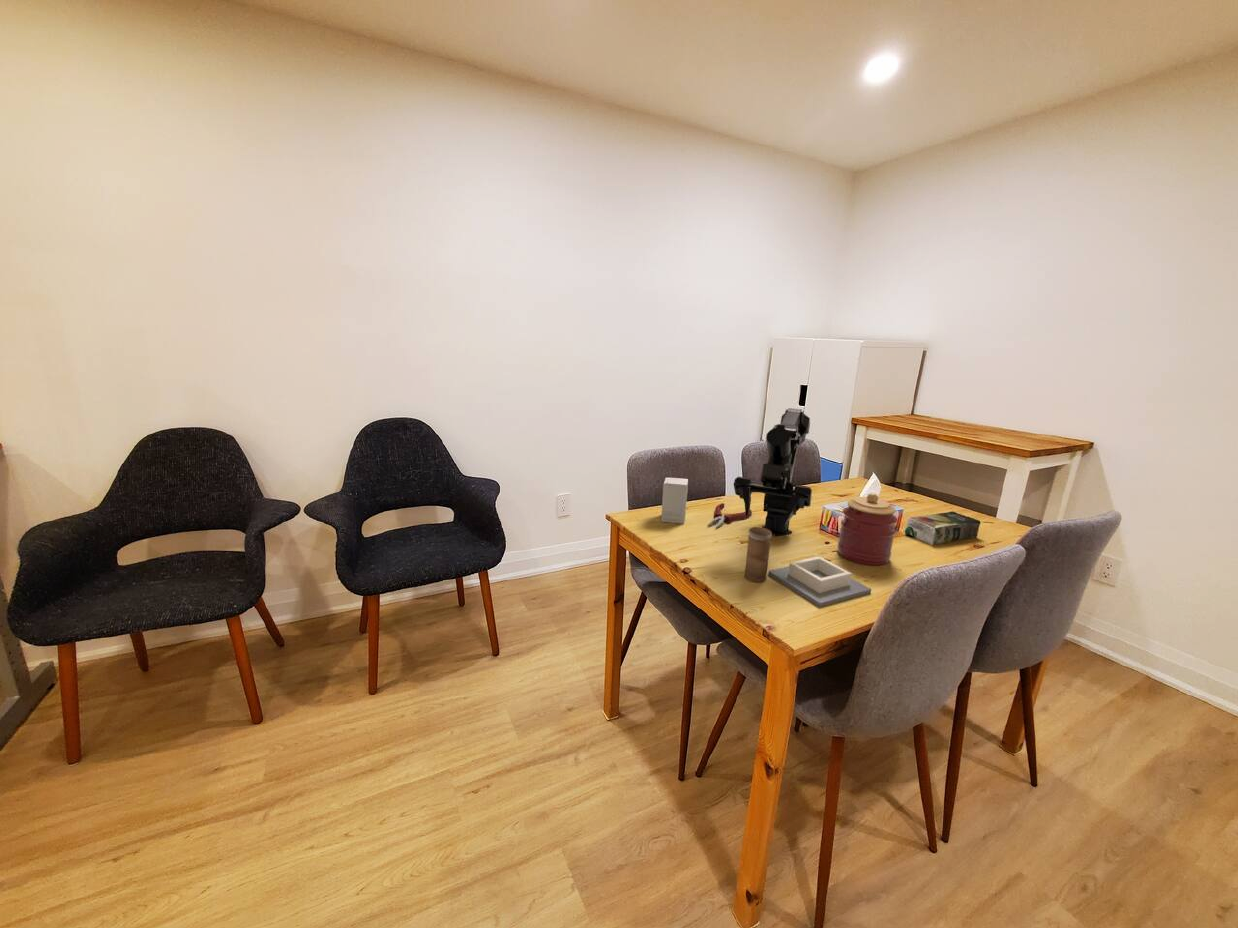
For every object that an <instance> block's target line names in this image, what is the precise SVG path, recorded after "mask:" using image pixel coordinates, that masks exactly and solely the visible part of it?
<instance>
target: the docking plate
mask: <svg viewBox="0 0 1238 928" xmlns="http://www.w3.org/2000/svg"><path fill="white" fill-rule="evenodd" d="M767 575H768V576H770V577H772V578H773V579H774V580H776V581H778V582H779V583H781V584H782V585H784V586H785V587H787V588H789V589H790V590H792V591H793V592H795V593H796V594H798V595H800V596H802V597H803V598H804V599H806V600H807V601H809V602H811V603H812V604H814V605H815V606H816V607H819V608H821V607H825V606H829V605H833V604H835V603H840V602H843V601H846V600H847V601H848V600H849V599H850V598H851V599H854V598H857V597H858V598H859V597H861V596H865V595H867V594H868V595H869V594H871V592H872V588H871V587H868V586H867V585H865V584H862V583H861V582H859V581H857V580H855V579H853V578H852V572H850V571H848V570H846V569H845V568H842V567H841V566H838V565H836V564H834V563H833V562H831V561H828V560H827V559H825V558H823V557H821V556H814V557H810V558H804V559H802V560H801V559H800V560H797V561H793V562H789V564H788V566H784V567H780V568H776V569H775V568H774V569H771V570H768V571H767Z"/></svg>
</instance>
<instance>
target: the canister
mask: <svg viewBox="0 0 1238 928" xmlns="http://www.w3.org/2000/svg"><path fill="white" fill-rule="evenodd" d="M847 505H848V506H846V507H844V508H843V509H842V513H843V515H844V517H843V519H841V522H840V531H839V532H840V533H839V539H838V541H837V552H838V554H839V555H840V556H842V558H845V559H847V560H849V561H851V562H854V563H859V564H862V565H867V566H883V565H887V564H888V563H889V562H890V558H891V557H892V556H891V555H892V547H893V543H894V536H895V534H896V529H895V524H896V523H897V522H898V520H899V519H898V517H897V516H896V515H895V512H896V507H894V506H893V505H891V504H890V503H889V502H888V501H887V500H883V499H882V498H881V499H880V498H879V495H878V494H876V493H875V492H870V493H868V494H867V496H858V497H857V496H856V497H854V498H853V499H850V500H848V501H847Z"/></svg>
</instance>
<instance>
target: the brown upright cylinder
mask: <svg viewBox="0 0 1238 928" xmlns="http://www.w3.org/2000/svg"><path fill="white" fill-rule="evenodd" d="M762 527H763V526H753V527H750V528H749V529H748V540H747V549H746V550H747V551H746V559H745V569H744V578H745V579H746V580H747V581H749V582H753V583H764V582H766V580H767V575H768V568H769V567H768V565H769V564H768V563H769V558H770V557H769V556H770V549H771V539H772V535H773V534H772V532H771V531H770V530H768V529H766V528H762Z"/></svg>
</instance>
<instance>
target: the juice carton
mask: <svg viewBox="0 0 1238 928" xmlns="http://www.w3.org/2000/svg"><path fill="white" fill-rule="evenodd" d="M980 526H981V521H980V520H979V519H977V518H973V517H970V516H966V515H964V514H961V513H958V512H956V511H954V510H953V511H949V512H948V511H947V512H940V513H939V512H938V513H933V514H926V515H918V516H917V515H916V516H912V517H907V519H906V526H905V529H904V535H909V536H912V537H913V538H915V539H916V540H919V541H922V542H924V543H925V544H928V545H930V546H934V545H942V544H946V543H951V542H952V543H954V542H959V541H966V540H972V539H977V537H978V533H979V530H980V529H979V528H980Z"/></svg>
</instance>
